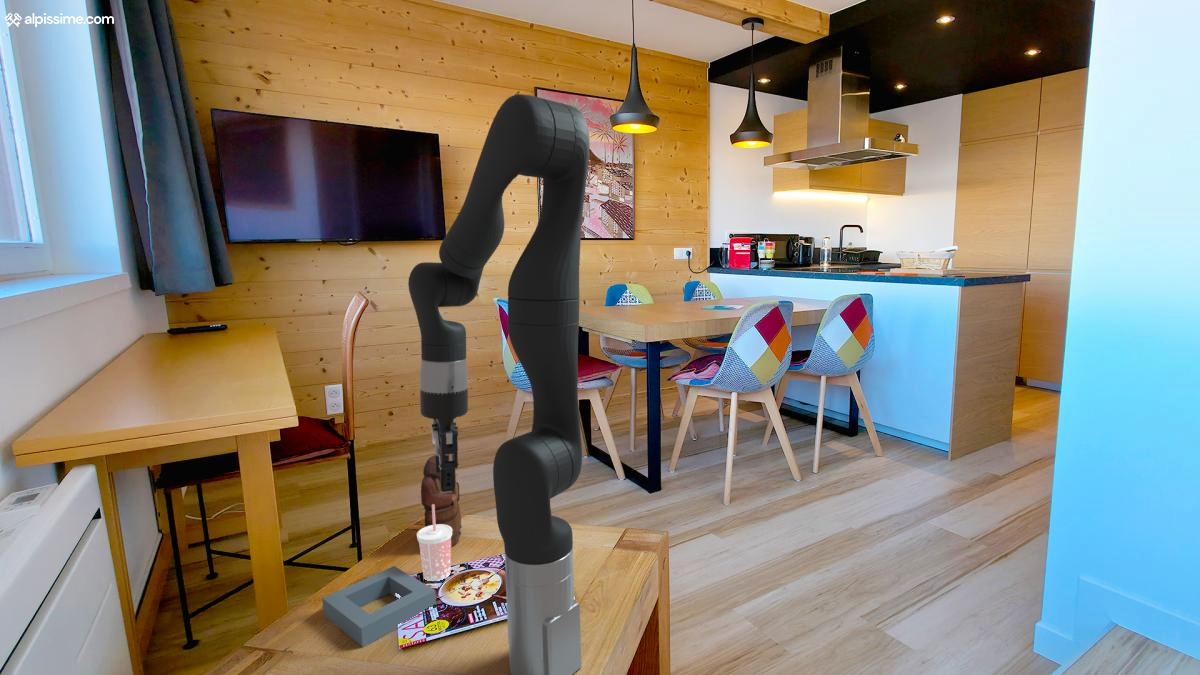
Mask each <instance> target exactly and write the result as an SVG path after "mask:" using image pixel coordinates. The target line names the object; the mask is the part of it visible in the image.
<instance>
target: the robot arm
mask: <svg viewBox="0 0 1200 675" xmlns="http://www.w3.org/2000/svg"><path fill="white" fill-rule="evenodd" d="M589 131H590V130H589V126H588V122H587V120H586V117H585V116H584V114H583V112H582V111H580V110H579V108H576V107H575V106H573V105H569V104H565V103H563V102H558V101H555V100H551V99H547V98H543V97H538V96H535V95H529V94H523V93H522V94H521V93H516V94H513V95H511V96H508V98H506V99H505V101H504V102H503V103H502V104H501V105H500V107H499V109H498V110H497V112H496V114H495V116H494V118H493V120H492V122H491V124H490V127H489V129H488V132H487V135H486V137H485V140H484V144H483V146H482V148H481V152H480V154H479V158H478V160H477V163H476V167H475V169H474V172H473V175H472V179H471V181H470V185H469V188H468V191H467V194H466V197H465V199H464V202H463V204H462V207H460V210H459V212H458V214H457V216H456V217H455V220H454V221H453V223H452V224H451V226H450V228H449V230H448V231H447V233H446V235H445V236H444V238H443V240H442V242H441V244H440V246H439V250H438V251H439V252H438V256H439V260H440V262H433V261H432V262H419V263H417V264H416V265H415V266H414V267H412V270H411V272H410V273H409V277H408V283H407V284H408V291H409V295H410V298H411V301H412V305H413V307H414V311H415V314H416V319H417V322H418V327H419V330H420V331H419V332H420V342H421V344H420V345H421V346H420V350H421V351H420V353H421V355H420V356H421V362H420V371H419V390H420V391H419V395H420V398H419V399H420V403H419V404H420V414H421V416H423V417H424V418H426V419H431V420H432V421H433V422H432V423H431V425H430V428H431V442H432V444H433V449H434V451H435V453H434V455H435V463H436V472H437V473H440V488H441V491H443V492H446V491H453V490H454V489H455V474H456V471H455V469H458V466H459V460H458V452H459V444H458V442H459V441H458V436H459V427H458V426H457V422H456V421H454V420H455V419H456V418H460V417H464V416H465V415H467V413H468V411H469V381H468V380H469V375H468V374H469V371H468V370H469V369H468V365H467V364H468V363H467V329H466V327H465V326H464V324H463V323H460V322H458V321H454V320H452V321H451V320H446V319H444V318H443V317H442V315H441V313H440V310H439V308H445V307H447V308H448V307H463V306H466V305H468V304H470V303H471V302H472V301H473V300H475V298H476V297H477V295H478V292H479V286H480V282H481V279H482V275H483V271H484V268H485V266H486V265H487V264H488V262H489V260H490V259H491V257H493V255H494V253H495V251H497V249H498V247H499V245H500V243H501V242H502V239H503V236H504V230H505V217H504V216H505V215H504V208H503V195H504V193H505V191H506V190H507V188H509V187H508V186H510V184H511V183H512V182H513V181H514V179H516V178H517V177H518V176H519V175H520V176H523V177H531V178H538V179H539V178H540V179H542V197H541V198H542V200H541V210H540V215H539V219H538V223H537V225H536V227H535V230H534V231H533V234H532V236H531V237H530V239H529V240H528V242H527V244H526V246H525V249H524V250H523V251H522V253H521V254H520V257H519V259H518V260H517V261H516V264H515V266H514V268H513V270H512V272H511V275H510V278H509V281H508V287H507V331H508V336H509V337H508V338H509V340H510V344H511V347H512V349H513V351H514V353H515V355H516V357H517V359H518V361H519V363H520V365H521V366H522V368H523V370H524V372H525V374H526V376H527V378H528V381H529V384H530V388H531V392H532V403H533V405H532V406H533V416H532V428H531V431H529V432H526V433H524V434H521V435H517V436H516V437H512V438H510V439H509V440H506V441H505V442H503V443H502V444H501V445H499V447H498V448H497V450H496V453H495V456H494V460H493V465H492V466H493V467H492V476H493V490H494V491H493V492H494V499H495V509H496V519H497V526H498V530H499V534H500V536H501V538H502V540H503V545H504V546H503V547H504V564H505V565H504V568H505V569H504V570H505V571H504V572H505V592H506V614H507V616H506V618H507V619H506V620H507V638H508V640H507V642H508V659H509V660H508V663H509V664H508V665H509V673H510V675H573V674H575V673H576V672H577V671H579V669H581V668H582V637H581V636H582V635H581V633H582V632H581V629H582V628H581V605H580V602H578V601H576V600H575V586H574V584H575V583H574V580H575V579H574V545H573V544H574V542H573V540H574V539H573V530H572V526H571V525H570V523H569V522H568V521H567V520H565V519H564V518H560V517H558V516H555V515H552V509H551V508H552V507H551V499H553V498H555V497H556V496H558V495H560V494H562V493H563V492H566V491H567V490H569V489H570V488H571V487H572V486H574V485H575V483H576V482H577V480H578V479H579V476H580V474H581V470H582V465H583V464H582V463H583V447H582V436H581V424H580V423H581V422H580V412H579V397H578V396H579V394H578V389H579V388H578V385H579V384H578V383H579V382H578V380H579V379H578V378H579V376H578V375H579V372H578V371H579V367H578V366H579V363H578V362H579V360H578V357H579V356H578V348H579V344H578V343H579V328H580V327H579V326H580V324H579V323H580V298H581V296H580V261H581V260H580V259H581V242H582V241H581V240H582V239H581V238H582V224H583V214H584V213H583V212H584V203H585V195H586V194H585V193H586V186H587V178H588V171H589V169H588V168H589V163H590V162H589V159H590V145H591V144H590V132H589ZM449 456H451V457H452V461H449Z"/></svg>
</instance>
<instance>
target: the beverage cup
mask: <svg viewBox="0 0 1200 675" xmlns="http://www.w3.org/2000/svg"><path fill="white" fill-rule="evenodd" d="M432 518H433V525H430V526H427V527H425V526H424V527H422V528H421V529H419V530H417V532H416V539H417V542H418V544H419V545H418V546H419V551H420V552H419V553H420V560H421V561H420V562H421V568H422V576H423V580H424V579H425V580H427V581H440V580H443V579H444V578H446V577H448V576H449V575H450V573H451V570H452V569H451V568H452V567H451V566H452V547H451V536H452V531H453V530H452V528H451V527H450V526H448V525H444V524H436V522H435V505H434V504H432ZM451 574H452V573H451Z"/></svg>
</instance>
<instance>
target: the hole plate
mask: <svg viewBox="0 0 1200 675" xmlns="http://www.w3.org/2000/svg"><path fill="white" fill-rule="evenodd" d="M395 593H397V594H399V595H400V596H401V597H402V598H400V599H398V598H397V599H396V600H394V601H392V602H390V603H388V604H385V605H384V606H382V607H380V608H378V609H376V610H374V611H372V612H370V613H369V612H367V611H365V609H363V608H362V607H363V606H366V605H368V604H370V603H372V602H375V601H376V600H377V599H380V598H382V597H384V596H387V595H388V594H391V596H394V595H395ZM321 600H322V609H323V616H324V617H325V618H326V619H328V620H329V622H331V623H332V624H333V625H334V626H336V627H337V628H338V629H340V630H341V632H343V633H345V634H346V635H347V636H348V637H350V638H351V639H352V640H353V641H355V643H357V644H358V645H359V646H360V647H362V648H365V647H366V646H368V645H370V644H371V643H373V642H375V641H377V640H379V639H381V638H383V637H385V636H387V635H388V634H390V633H392V632H393V631H396V630H398V629H397V626H398V624H400V623H402V622H405V621H406V620H409V619H410V618H412V617H414V616H416V615H417V614H419V613H420V612H422V611H423V610H425V609H427V608H428V607H430V606H433V605H434V604H436V605H437V596H436V589H434V588H432V587H431V586H428V585H426V584H425V583H424V582H422V581H420V580H418V578H415V577H413V576H412V575H410V574H408V573H407V572H405V571H403V570H402V569H400V568H398V567H397V566H395V565H393V566H391V567H389V568H386V569H384V570H381V571H380V572H377V573H375V574H373V575H371V576H368V577H367V578H366V577H365V578H364V579H362V580H360V581H357V582H355V583H353V584H350V585H348V586H346V587H344V588H341V589H339V590H337V591H335V592H332V593H331V594H328V595H326V596H324V597H322V598H321Z"/></svg>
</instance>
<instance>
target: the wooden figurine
mask: <svg viewBox="0 0 1200 675" xmlns="http://www.w3.org/2000/svg"><path fill="white" fill-rule="evenodd" d="M449 461H452V456H451V455H449ZM456 469H457V468H455V472H456ZM422 474H423V478H422V481H421V486H420V500H421V501H420V502H421V504H422V506H423V509H424V514H423V515H424V527H427V526H430V525H433V518H432V504H434V505H435V522H436V524H444V525H448V526H450V527H451V528H452V530H453V531H452V536H451V548H452V547H455V546H456V545H457V544H458V543H459V542H460V537H461V535H462V531H461V529H462V528H463V527H462V515H461V508H460V503H459V501H460V485H459V482H458V481H457V474H456V473H455V489H454V490H453V491H446V492H443V491H441V488H440V473H437V472H436V463H435V454H434V455H431V456H430V457H429V458H428V459H427V460H426V462H425V465H424V466H423V473H422Z"/></svg>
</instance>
